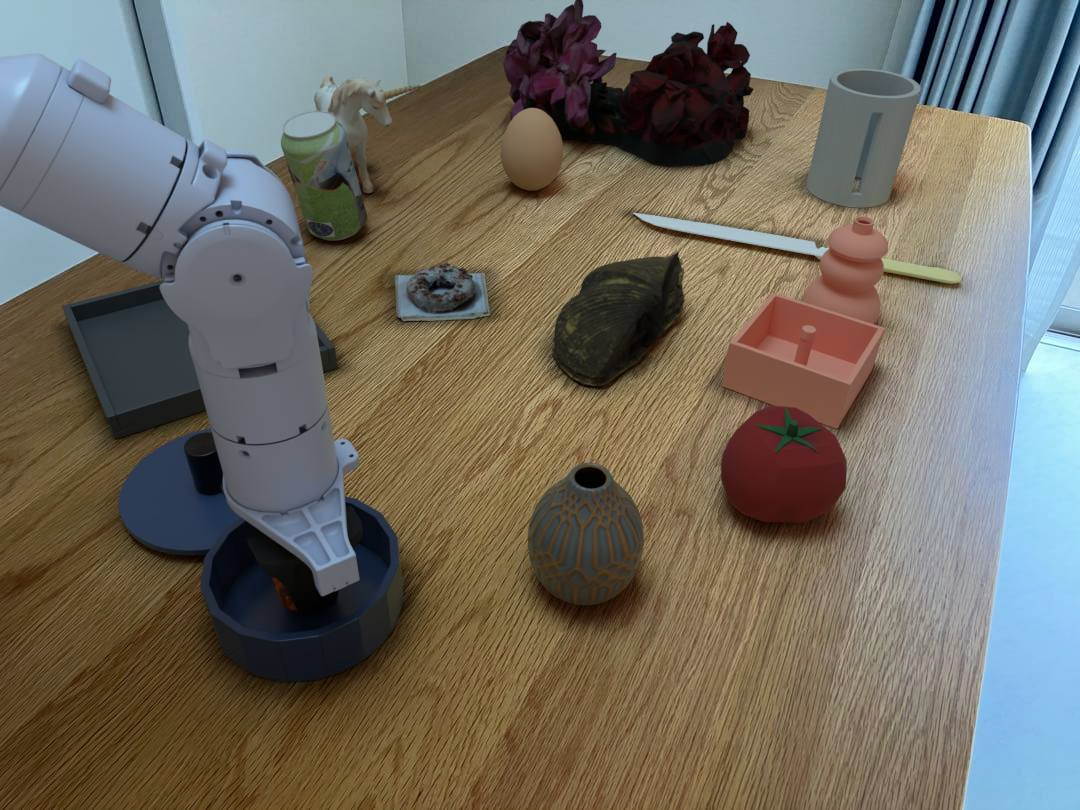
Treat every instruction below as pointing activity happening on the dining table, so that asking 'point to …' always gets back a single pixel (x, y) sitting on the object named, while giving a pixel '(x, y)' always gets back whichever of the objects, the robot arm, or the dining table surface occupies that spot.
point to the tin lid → (177, 497)
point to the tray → (143, 358)
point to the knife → (793, 246)
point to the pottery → (816, 333)
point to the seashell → (617, 317)
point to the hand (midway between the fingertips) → (307, 587)
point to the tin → (286, 636)
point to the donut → (441, 294)
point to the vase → (585, 537)
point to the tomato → (783, 466)
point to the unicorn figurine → (357, 112)
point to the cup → (862, 136)
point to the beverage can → (323, 175)
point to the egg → (532, 150)
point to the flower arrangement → (633, 90)
